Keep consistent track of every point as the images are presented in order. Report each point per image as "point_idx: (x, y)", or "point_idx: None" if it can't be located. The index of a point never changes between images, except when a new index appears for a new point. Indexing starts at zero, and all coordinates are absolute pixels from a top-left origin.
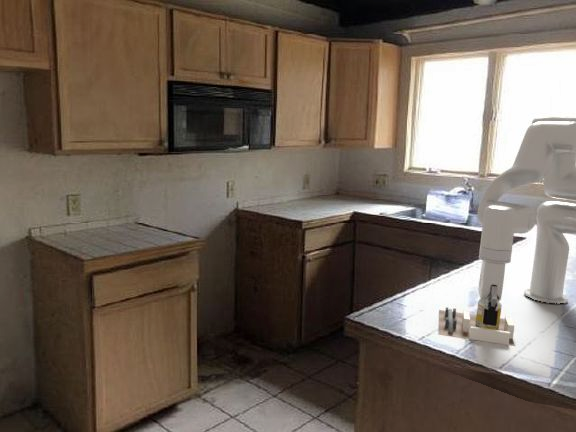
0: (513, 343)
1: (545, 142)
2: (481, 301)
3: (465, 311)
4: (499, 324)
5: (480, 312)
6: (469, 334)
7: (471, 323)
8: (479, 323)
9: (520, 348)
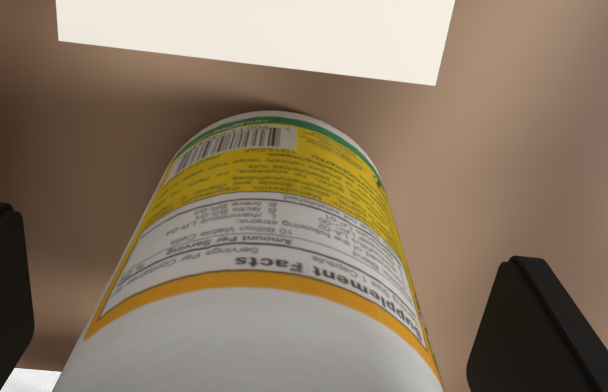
0: (22, 362)
1: None
2: (153, 377)
3: (440, 26)
4: (456, 347)
5: (148, 239)
6: (52, 2)
7: (430, 90)
8: (179, 163)
9: (24, 381)
